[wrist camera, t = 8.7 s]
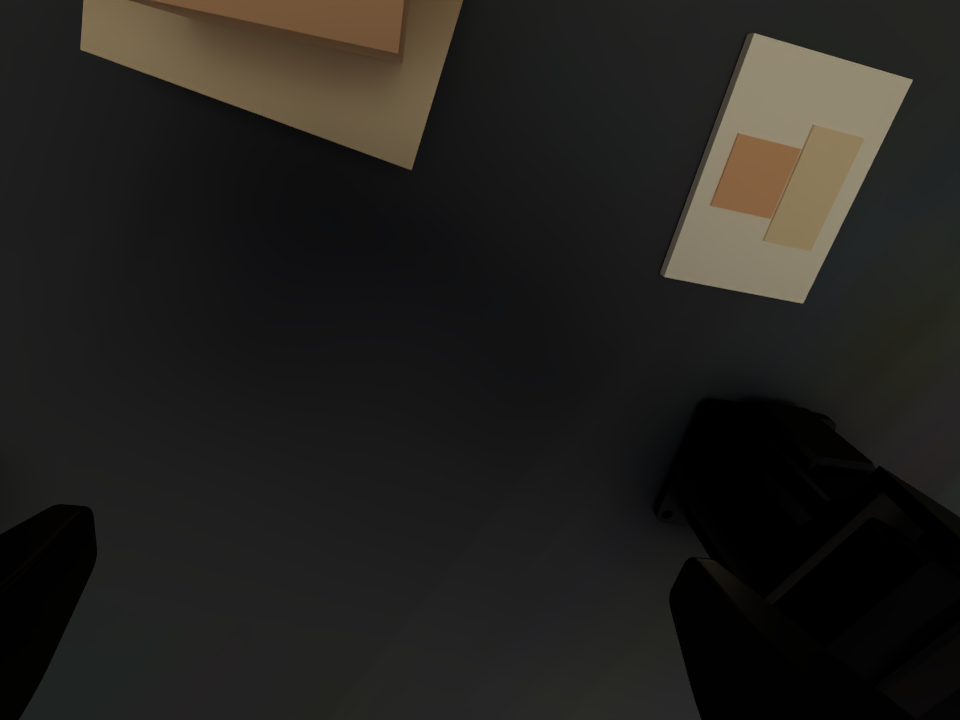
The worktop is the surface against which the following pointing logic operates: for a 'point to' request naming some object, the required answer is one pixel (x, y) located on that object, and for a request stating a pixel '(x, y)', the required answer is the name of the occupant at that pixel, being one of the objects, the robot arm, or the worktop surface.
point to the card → (781, 169)
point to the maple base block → (288, 71)
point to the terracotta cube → (309, 21)
